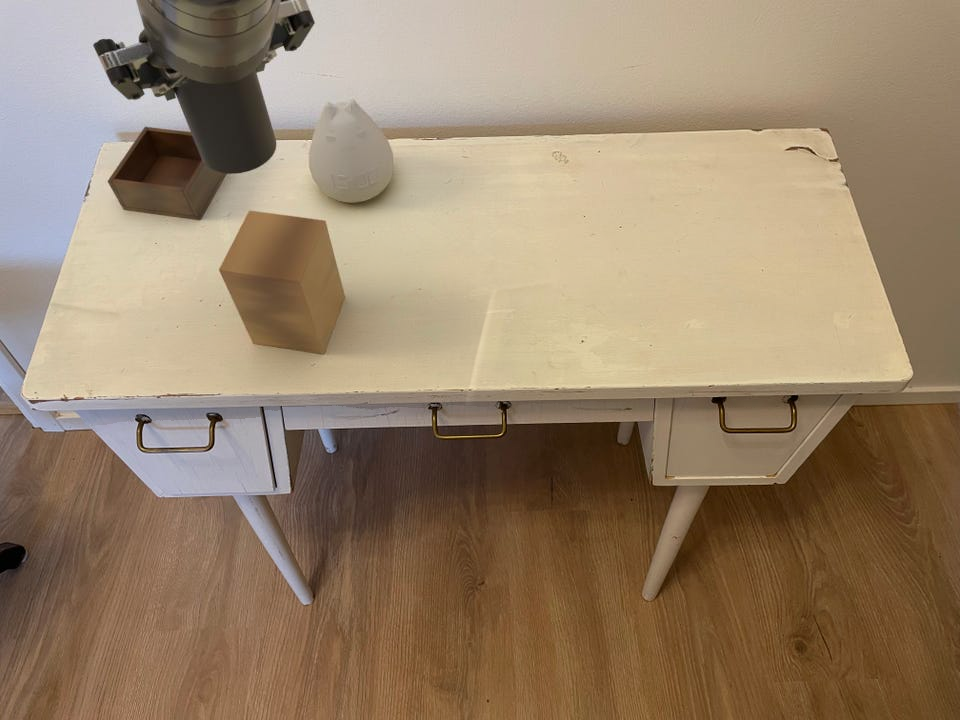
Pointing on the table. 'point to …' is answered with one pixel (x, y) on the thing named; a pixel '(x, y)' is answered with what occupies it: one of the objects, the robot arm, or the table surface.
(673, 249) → the table surface
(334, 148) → the toy character
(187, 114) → the ball tube
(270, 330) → the stand
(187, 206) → the bin
